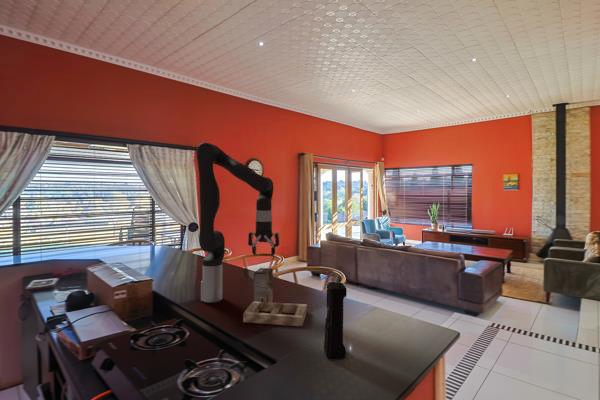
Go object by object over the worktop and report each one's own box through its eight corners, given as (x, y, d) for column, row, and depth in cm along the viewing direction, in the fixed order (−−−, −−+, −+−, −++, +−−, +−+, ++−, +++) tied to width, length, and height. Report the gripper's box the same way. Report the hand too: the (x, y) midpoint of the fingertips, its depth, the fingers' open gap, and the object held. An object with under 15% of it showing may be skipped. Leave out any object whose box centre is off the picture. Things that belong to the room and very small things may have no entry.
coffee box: (260, 300, 147) (260, 267, 147) (272, 301, 146) (273, 268, 145) (253, 307, 138) (253, 272, 138) (267, 308, 137) (267, 273, 136)
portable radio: (322, 347, 103) (323, 274, 102) (340, 346, 104) (341, 273, 103) (326, 360, 95) (327, 280, 95) (345, 359, 96) (346, 280, 95)
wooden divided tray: (243, 322, 123) (243, 313, 122) (253, 308, 136) (253, 301, 136) (302, 326, 119) (302, 317, 119) (306, 312, 133) (306, 304, 133)
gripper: (246, 220, 138) (246, 256, 139) (277, 221, 136) (276, 257, 137) (251, 219, 146) (251, 252, 146) (280, 219, 144) (280, 254, 144)
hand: (263, 255), depth 141 cm, fingers open, 8 cm apart
